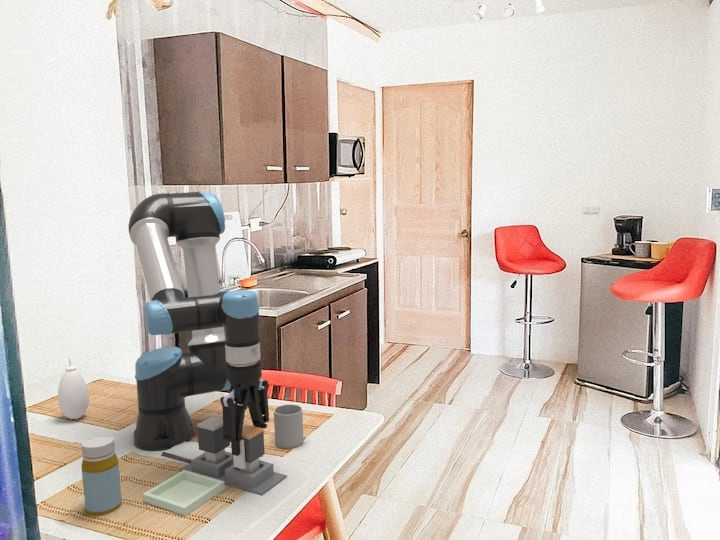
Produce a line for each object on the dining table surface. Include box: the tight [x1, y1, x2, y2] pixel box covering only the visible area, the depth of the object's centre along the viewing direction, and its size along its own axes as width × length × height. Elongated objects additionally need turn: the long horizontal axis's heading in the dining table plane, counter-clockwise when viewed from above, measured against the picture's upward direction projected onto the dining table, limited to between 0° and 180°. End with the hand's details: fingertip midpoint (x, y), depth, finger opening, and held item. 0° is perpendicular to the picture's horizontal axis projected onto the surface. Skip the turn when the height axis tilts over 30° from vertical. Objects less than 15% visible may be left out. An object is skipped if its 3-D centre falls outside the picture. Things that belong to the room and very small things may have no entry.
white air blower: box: [57, 358, 90, 420], centre depth 177 cm, size 8×8×18 cm
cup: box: [273, 404, 304, 450], centre depth 160 cm, size 7×10×9 cm
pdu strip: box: [161, 416, 288, 496], centre depth 144 cm, size 34×9×12 cm, turn 61°
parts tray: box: [142, 470, 226, 517], centre depth 134 cm, size 12×12×2 cm
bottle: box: [81, 434, 123, 516], centre depth 129 cm, size 7×7×15 cm
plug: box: [239, 424, 266, 474], centre depth 140 cm, size 5×5×11 cm
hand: (248, 461), depth 140 cm, fingers open, 6 cm apart
